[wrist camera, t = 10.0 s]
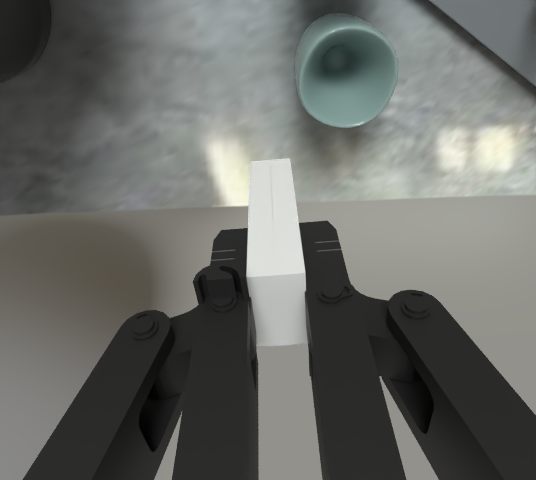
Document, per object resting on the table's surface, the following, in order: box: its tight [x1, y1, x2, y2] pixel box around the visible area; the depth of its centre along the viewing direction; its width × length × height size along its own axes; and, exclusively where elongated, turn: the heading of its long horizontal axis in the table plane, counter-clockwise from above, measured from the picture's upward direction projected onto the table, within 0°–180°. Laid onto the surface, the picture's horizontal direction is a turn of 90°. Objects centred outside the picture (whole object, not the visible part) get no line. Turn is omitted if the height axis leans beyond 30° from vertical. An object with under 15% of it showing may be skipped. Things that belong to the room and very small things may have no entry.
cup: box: [294, 13, 398, 128], centre depth 37 cm, size 8×8×10 cm
